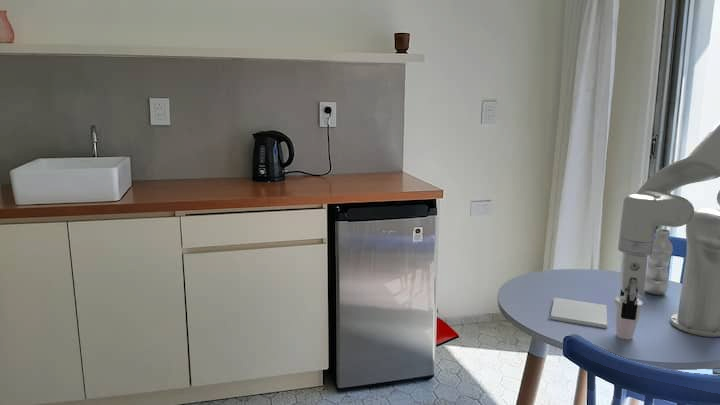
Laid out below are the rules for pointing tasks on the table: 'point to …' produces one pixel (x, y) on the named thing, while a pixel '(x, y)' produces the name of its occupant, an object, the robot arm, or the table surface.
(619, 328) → the smoothie
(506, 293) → the table surface
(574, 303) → the tile
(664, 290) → the plastic bottle
